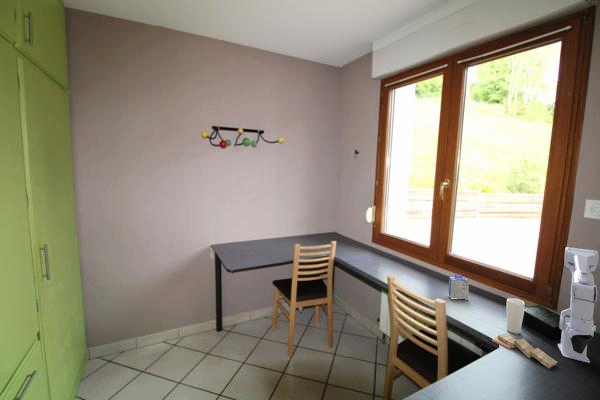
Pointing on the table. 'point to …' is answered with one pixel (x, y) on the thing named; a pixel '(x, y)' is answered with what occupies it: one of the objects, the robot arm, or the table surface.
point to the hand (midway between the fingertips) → (577, 352)
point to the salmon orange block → (501, 343)
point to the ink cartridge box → (458, 287)
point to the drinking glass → (514, 314)
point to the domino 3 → (543, 358)
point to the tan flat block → (524, 347)
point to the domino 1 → (507, 340)
